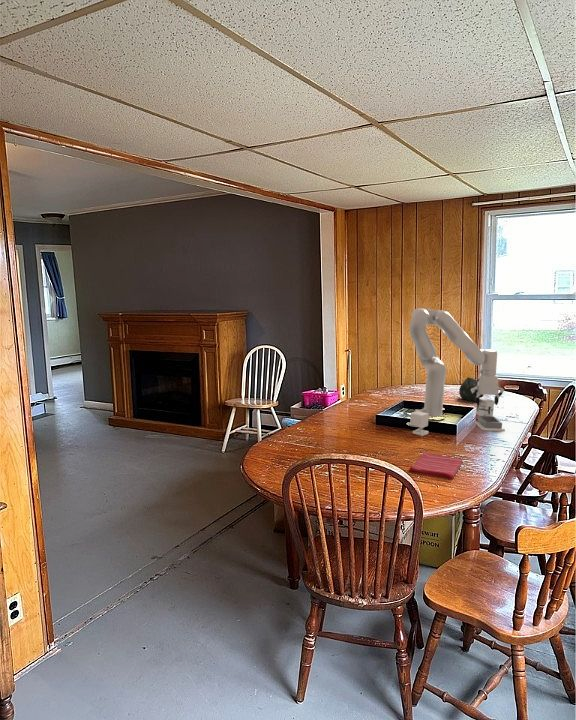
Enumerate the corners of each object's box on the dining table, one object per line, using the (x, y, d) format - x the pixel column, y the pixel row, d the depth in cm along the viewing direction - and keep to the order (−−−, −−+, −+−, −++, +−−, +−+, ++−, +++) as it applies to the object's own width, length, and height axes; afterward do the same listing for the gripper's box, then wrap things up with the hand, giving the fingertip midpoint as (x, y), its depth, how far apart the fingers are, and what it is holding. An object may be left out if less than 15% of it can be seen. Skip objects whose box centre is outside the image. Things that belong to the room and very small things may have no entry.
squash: (492, 392, 331) (479, 372, 336) (479, 396, 321) (466, 376, 327) (476, 404, 341) (463, 384, 346) (463, 408, 331) (450, 387, 337)
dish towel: (407, 473, 209) (408, 466, 208) (421, 455, 230) (422, 449, 229) (452, 482, 201) (453, 475, 201) (463, 463, 222) (463, 457, 222)
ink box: (474, 418, 291) (476, 397, 289) (482, 418, 292) (484, 396, 290) (484, 422, 283) (486, 401, 281) (492, 422, 284) (494, 400, 282)
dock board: (482, 430, 269) (483, 422, 268) (474, 422, 282) (475, 415, 281) (504, 430, 268) (505, 423, 268) (495, 423, 281) (496, 416, 281)
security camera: (416, 430, 265) (417, 410, 264) (428, 433, 260) (430, 413, 259) (409, 432, 261) (410, 412, 259) (421, 436, 256) (423, 415, 254)
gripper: (473, 374, 280) (472, 406, 283) (507, 374, 279) (505, 406, 282) (469, 371, 287) (468, 402, 290) (502, 371, 286) (500, 402, 289)
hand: (486, 404), depth 286 cm, fingers open, 9 cm apart
